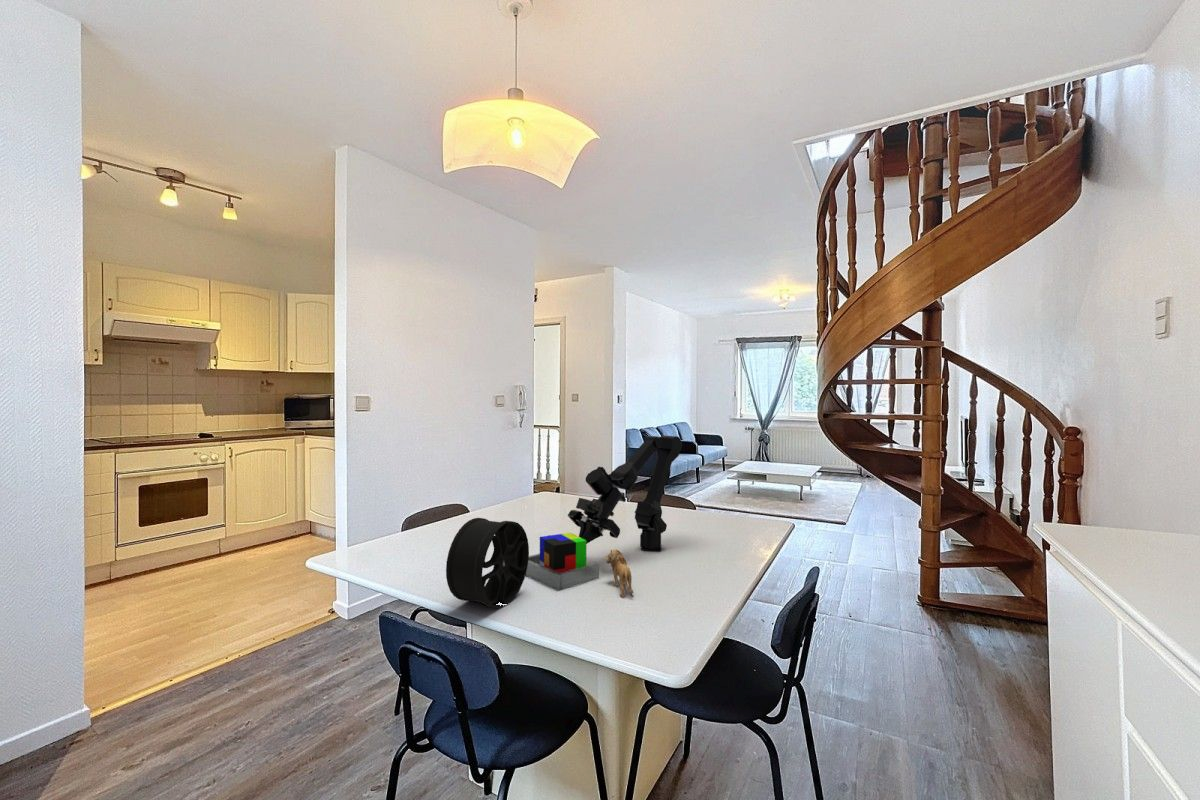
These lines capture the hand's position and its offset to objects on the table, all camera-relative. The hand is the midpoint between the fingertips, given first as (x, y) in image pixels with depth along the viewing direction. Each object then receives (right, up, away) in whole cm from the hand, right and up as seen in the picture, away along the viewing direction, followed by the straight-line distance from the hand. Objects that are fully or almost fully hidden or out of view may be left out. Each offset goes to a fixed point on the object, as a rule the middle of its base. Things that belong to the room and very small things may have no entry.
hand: (577, 546), depth 147 cm
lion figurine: (+12, -7, -14) cm, 20 cm away
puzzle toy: (-4, -7, -3) cm, 9 cm away
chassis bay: (-5, -7, -4) cm, 9 cm away
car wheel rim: (-21, -7, -23) cm, 32 cm away
